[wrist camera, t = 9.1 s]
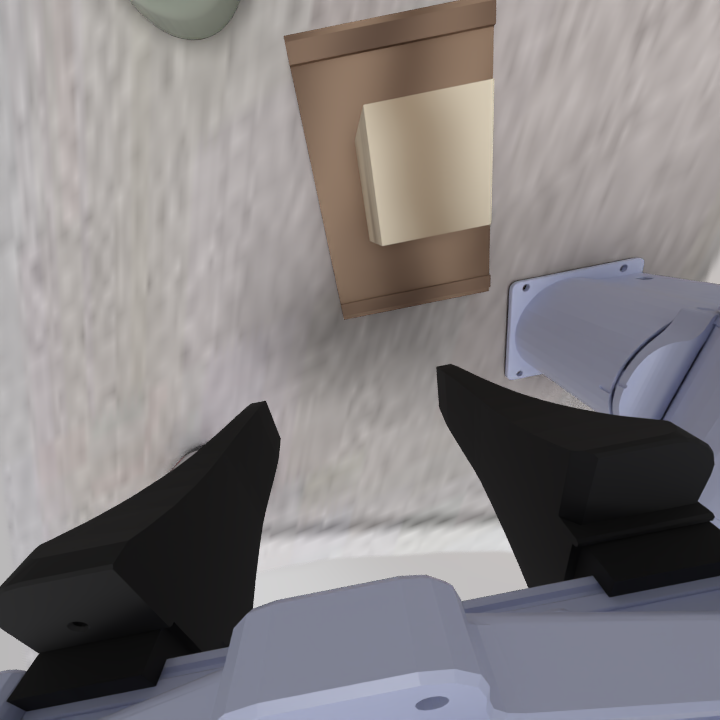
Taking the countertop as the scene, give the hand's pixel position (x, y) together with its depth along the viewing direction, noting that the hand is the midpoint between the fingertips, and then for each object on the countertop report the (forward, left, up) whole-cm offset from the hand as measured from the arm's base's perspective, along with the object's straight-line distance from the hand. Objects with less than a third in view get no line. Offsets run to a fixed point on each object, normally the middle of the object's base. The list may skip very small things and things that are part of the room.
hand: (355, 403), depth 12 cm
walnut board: (-5, -8, -10) cm, 14 cm away
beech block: (-5, -8, -9) cm, 13 cm away
